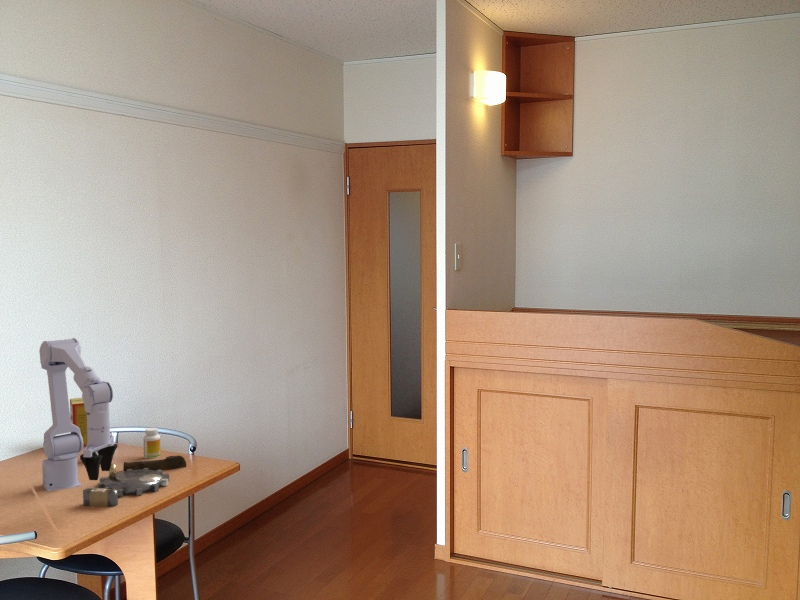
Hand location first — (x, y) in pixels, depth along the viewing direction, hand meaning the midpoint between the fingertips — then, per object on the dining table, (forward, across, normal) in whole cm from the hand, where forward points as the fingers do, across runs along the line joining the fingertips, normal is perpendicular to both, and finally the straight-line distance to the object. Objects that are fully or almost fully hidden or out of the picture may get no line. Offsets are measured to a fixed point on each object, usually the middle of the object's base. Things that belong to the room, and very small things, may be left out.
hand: (99, 475), depth 205 cm
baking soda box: (+9, +59, +33) cm, 68 cm away
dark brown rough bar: (+9, +31, -4) cm, 33 cm away
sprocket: (+8, +16, -3) cm, 18 cm away
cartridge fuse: (+9, 0, 0) cm, 9 cm away
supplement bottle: (+9, +45, +2) cm, 46 cm away
